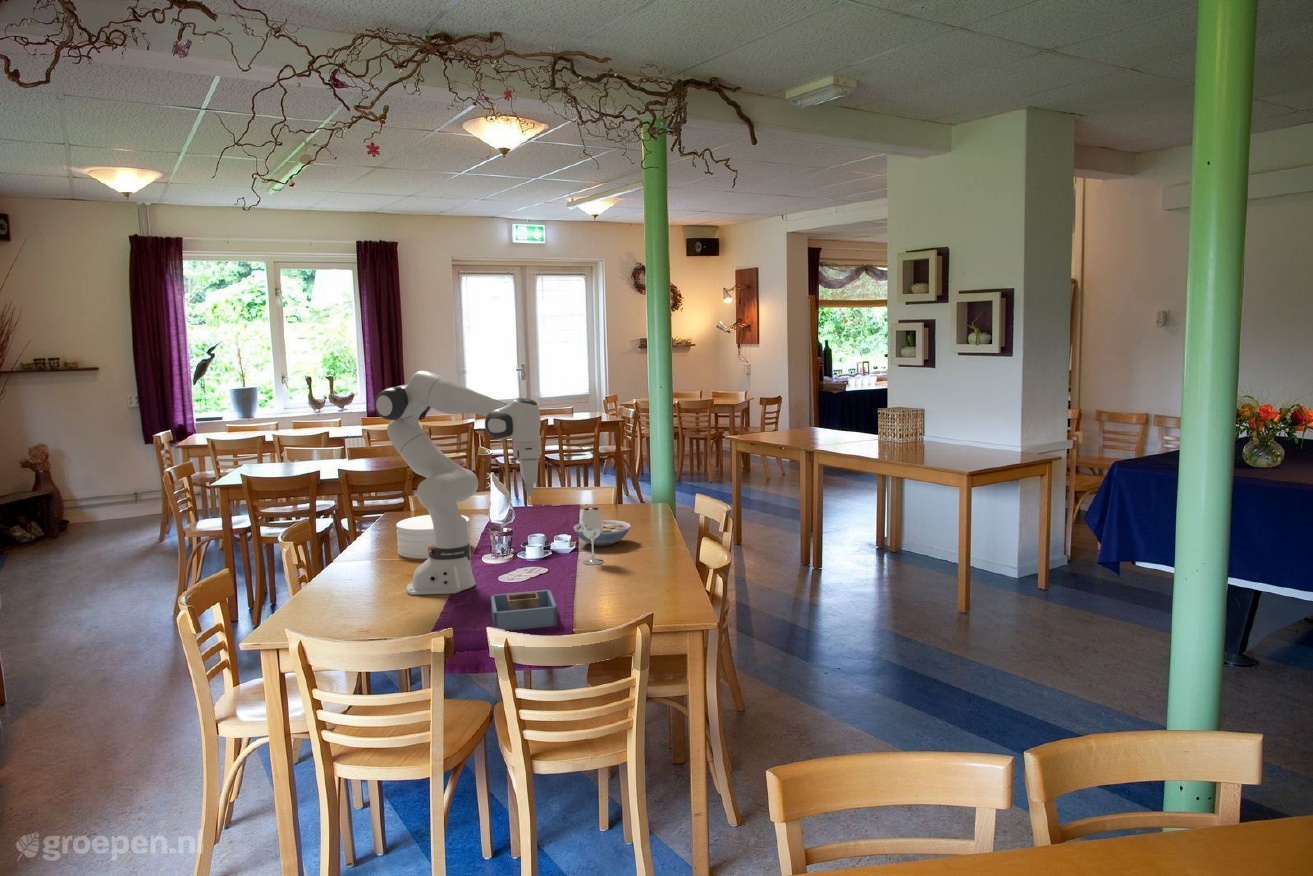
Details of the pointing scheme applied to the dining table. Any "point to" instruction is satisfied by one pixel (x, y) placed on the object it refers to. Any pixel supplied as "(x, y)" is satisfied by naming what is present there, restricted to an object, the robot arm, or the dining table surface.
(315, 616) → the dining table surface
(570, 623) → the dining table surface
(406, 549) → the plate stack
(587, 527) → the wineglass
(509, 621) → the blue crate
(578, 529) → the ramen bowl
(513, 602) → the walnut crate
